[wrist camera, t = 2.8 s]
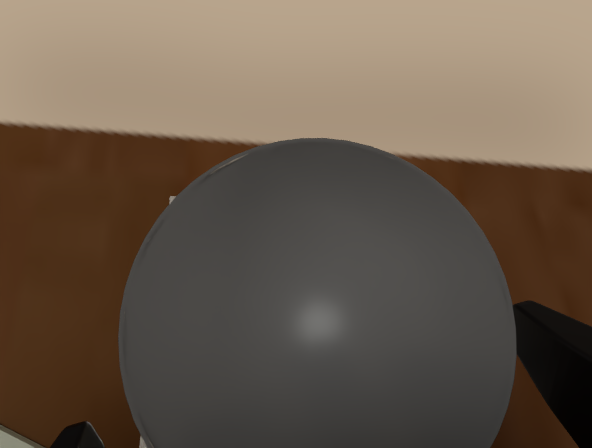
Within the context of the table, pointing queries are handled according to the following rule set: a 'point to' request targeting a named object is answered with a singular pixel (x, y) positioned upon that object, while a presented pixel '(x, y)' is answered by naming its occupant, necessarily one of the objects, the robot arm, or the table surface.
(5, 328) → the table surface
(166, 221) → the plug
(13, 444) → the mat
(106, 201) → the table surface
